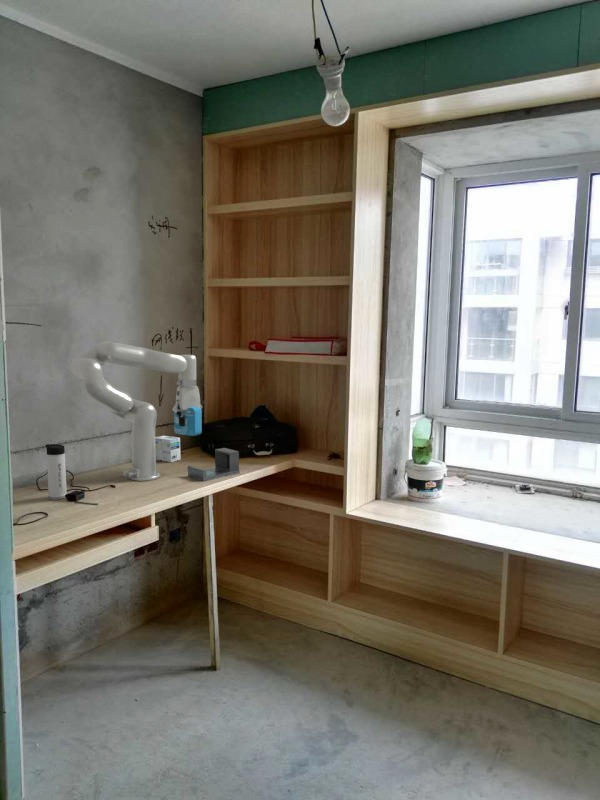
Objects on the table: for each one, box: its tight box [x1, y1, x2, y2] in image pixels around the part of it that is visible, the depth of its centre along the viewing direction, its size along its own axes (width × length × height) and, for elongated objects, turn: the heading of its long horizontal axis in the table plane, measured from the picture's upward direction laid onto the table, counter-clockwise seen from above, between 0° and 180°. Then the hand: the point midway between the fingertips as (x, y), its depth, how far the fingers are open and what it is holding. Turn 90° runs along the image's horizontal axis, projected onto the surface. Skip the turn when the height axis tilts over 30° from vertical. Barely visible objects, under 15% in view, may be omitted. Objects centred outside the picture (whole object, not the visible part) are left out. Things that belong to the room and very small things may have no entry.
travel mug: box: [44, 443, 68, 501], centre depth 232 cm, size 6×7×20 cm
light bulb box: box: [155, 435, 182, 463], centre depth 295 cm, size 11×7×11 cm, turn 58°
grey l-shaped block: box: [187, 447, 241, 482], centre depth 268 cm, size 19×11×10 cm, turn 135°
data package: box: [173, 407, 203, 437], centre depth 274 cm, size 12×4×12 cm, turn 58°
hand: (187, 424), depth 274 cm, fingers closed on data package, 5 cm apart
